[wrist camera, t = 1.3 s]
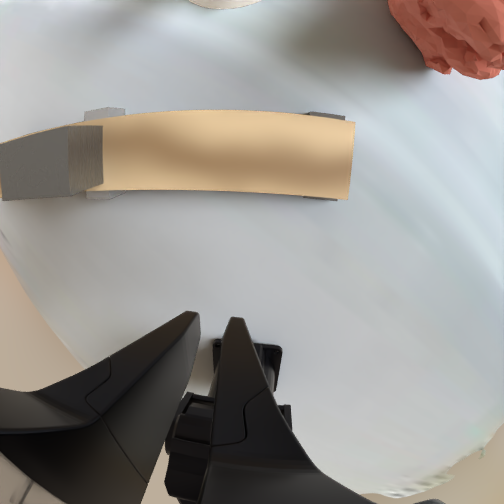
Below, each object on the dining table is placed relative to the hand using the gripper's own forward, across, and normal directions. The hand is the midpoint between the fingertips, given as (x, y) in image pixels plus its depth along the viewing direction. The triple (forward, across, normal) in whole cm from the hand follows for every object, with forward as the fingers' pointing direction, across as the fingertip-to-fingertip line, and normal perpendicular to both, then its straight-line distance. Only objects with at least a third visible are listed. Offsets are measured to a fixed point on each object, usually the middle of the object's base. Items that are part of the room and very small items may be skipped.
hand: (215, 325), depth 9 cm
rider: (+9, +14, -5) cm, 17 cm away
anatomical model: (+13, -13, -19) cm, 27 cm away
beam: (+11, +9, -5) cm, 15 cm away
